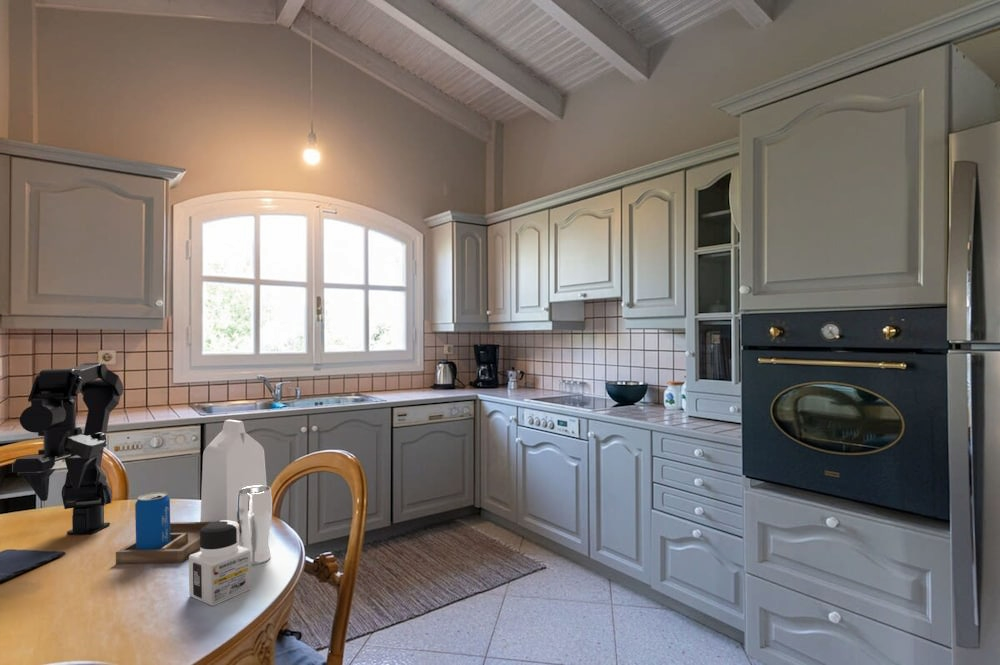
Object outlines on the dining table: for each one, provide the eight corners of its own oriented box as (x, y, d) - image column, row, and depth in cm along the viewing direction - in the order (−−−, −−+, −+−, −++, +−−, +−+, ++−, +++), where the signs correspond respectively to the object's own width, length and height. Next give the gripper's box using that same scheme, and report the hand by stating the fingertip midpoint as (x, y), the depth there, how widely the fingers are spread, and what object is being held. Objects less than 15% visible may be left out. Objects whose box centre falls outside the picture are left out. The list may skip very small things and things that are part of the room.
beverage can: (154, 556, 118) (153, 500, 118) (128, 554, 119) (127, 499, 119) (177, 544, 124) (176, 491, 124) (152, 543, 125) (151, 490, 125)
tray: (166, 532, 134) (166, 521, 134) (223, 531, 134) (223, 520, 134) (115, 563, 116) (115, 550, 116) (182, 562, 116) (182, 549, 116)
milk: (269, 518, 144) (267, 419, 144) (227, 531, 134) (225, 426, 134) (242, 510, 151) (240, 416, 150) (200, 523, 141) (198, 422, 141)
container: (212, 607, 97) (211, 534, 97) (188, 596, 101) (187, 526, 101) (252, 589, 104) (251, 521, 104) (228, 580, 108) (227, 514, 108)
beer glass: (279, 555, 120) (279, 486, 120) (256, 568, 113) (255, 495, 113) (254, 551, 122) (253, 484, 122) (229, 564, 116) (228, 493, 116)
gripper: (63, 432, 114) (65, 507, 114) (123, 417, 132) (124, 482, 133) (9, 432, 114) (10, 508, 114) (76, 418, 132) (77, 483, 132)
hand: (60, 494), depth 123 cm, fingers open, 9 cm apart
